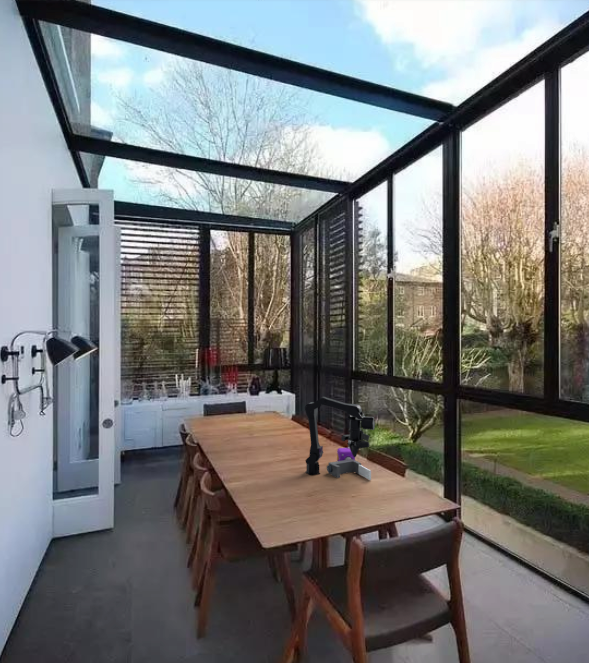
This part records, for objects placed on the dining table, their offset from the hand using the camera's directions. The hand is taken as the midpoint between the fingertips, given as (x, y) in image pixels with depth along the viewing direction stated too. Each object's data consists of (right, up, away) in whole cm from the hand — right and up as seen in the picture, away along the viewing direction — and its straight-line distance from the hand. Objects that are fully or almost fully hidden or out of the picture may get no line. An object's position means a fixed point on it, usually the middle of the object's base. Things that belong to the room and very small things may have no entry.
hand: (354, 456), depth 231 cm
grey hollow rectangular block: (-4, -12, +8) cm, 15 cm away
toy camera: (-2, -12, +22) cm, 25 cm away
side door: (+6, -11, +1) cm, 13 cm away
